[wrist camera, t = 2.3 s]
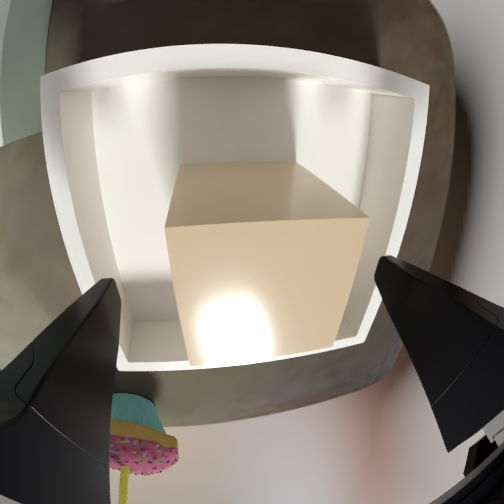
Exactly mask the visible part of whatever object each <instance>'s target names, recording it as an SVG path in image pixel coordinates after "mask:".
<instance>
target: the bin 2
mask: <svg viewBox="0 0 504 504" xmlns="http://www.w3.org/2000/svg"><path fill="white" fill-rule="evenodd" d="M40 99H41V119H42V132H43V141H44V150H45V157H46V164H47V170H48V176H49V181H50V187H51V192H52V196H53V201H54V205H55V210H56V214H57V218H58V222H59V225H60V229H61V233H62V236H63V240H64V243H65V246H66V250H67V253H68V256H69V259H70V262H71V265H72V268H73V271H74V273H75V276H76V279H77V282H78V284H79V287H80V290H81V292H82V295H83V294H84V293H85V292H86V291H87V290H89V289H90V288H91V287H92V286H93V285H94V284H96V283H97V282H98V281H99V280H100V279H102V278H113V279H114V280H115V282H116V285H117V288H118V291H119V294H120V297H121V304H122V305H121V319H120V336H119V349H118V357H117V364H116V367H117V368H118V370H119V371H169V370H189V369H204V368H216V367H226V366H236V365H244V364H253V363H260V362H267V361H274V360H280V359H287V358H292V357H298V356H304V355H309V354H314V353H319V352H324V351H329V350H333V349H338V348H342V347H347V346H351V345H355V344H359V343H363V342H364V341H365V339H366V336H367V334H368V332H369V330H370V327H371V325H372V323H373V320H374V318H375V315H376V313H377V310H378V308H379V305H380V303H381V300H382V297H381V295H380V293H379V290H378V288H377V286H376V283H375V281H374V273H375V270H376V267H377V264H378V260H379V258H380V257H381V256H386V255H391V256H394V257H396V258H397V255H398V252H399V249H400V245H401V242H402V239H403V235H404V232H405V228H406V224H407V221H408V217H409V213H410V209H411V205H412V201H413V197H414V192H415V188H416V183H417V178H418V173H419V168H420V162H421V157H422V151H423V144H424V137H425V130H426V121H427V112H428V101H429V85H427V84H424V83H422V82H419V81H417V80H414V79H412V78H409V77H406V76H404V75H401V74H398V73H395V72H392V71H389V70H386V69H383V68H380V67H376V66H373V65H370V64H366V63H362V62H359V61H355V60H351V59H347V58H342V57H338V56H333V55H328V54H323V53H318V52H312V51H306V50H299V49H292V48H284V47H275V46H264V45H248V44H194V45H178V46H167V47H158V48H150V49H143V50H137V51H131V52H125V53H120V54H115V55H110V56H106V57H101V58H97V59H93V60H89V61H85V62H82V63H78V64H75V65H72V66H68V67H65V68H62V69H59V70H56V71H53V72H50V73H48V74H45V75H42V76H40ZM220 162H297V163H298V164H300V165H301V166H303V167H304V168H305V169H307V170H308V171H310V172H311V173H312V174H314V175H315V176H317V177H318V178H319V179H321V180H322V181H323V182H325V183H326V184H327V185H329V186H330V187H331V188H333V189H334V190H335V191H337V192H338V193H339V194H341V195H342V196H343V197H344V198H346V199H347V200H348V201H350V202H351V203H352V204H353V205H355V206H356V207H357V208H358V209H360V210H361V211H362V212H363V213H365V214H366V215H367V216H368V217H369V218H370V219H369V223H368V228H367V232H366V236H365V240H364V245H363V249H362V253H361V256H360V260H359V264H358V268H357V271H356V275H355V279H354V282H353V285H352V289H351V292H350V296H349V299H348V302H347V305H346V308H345V312H344V315H343V318H342V321H341V324H340V327H339V330H338V332H337V335H336V338H335V341H334V344H333V347H328V348H323V349H318V350H313V351H308V352H302V353H297V354H291V355H285V356H278V357H272V358H265V359H258V360H250V361H241V362H232V363H223V364H212V365H199V366H190V363H189V359H188V355H187V351H186V346H185V342H184V337H183V333H182V328H181V323H180V318H179V313H178V308H177V303H176V298H175V292H174V287H173V281H172V275H171V269H170V263H169V256H168V250H167V243H166V235H165V223H166V219H167V214H168V210H169V206H170V202H171V198H172V194H173V190H174V186H175V182H176V178H177V175H178V171H179V167H180V165H185V164H200V163H220Z"/></svg>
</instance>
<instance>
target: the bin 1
mask: <svg viewBox="0 0 504 504" xmlns="http://www.w3.org/2000/svg"><path fill="white" fill-rule="evenodd" d="M52 2H53V0H0V147H1V146H4V145H6V144H9V143H11V142H14V141H16V140H19V139H22V138H24V137H27V136H30V135H33V134H36V133H39V132H42V119H41V99H40V76H42V75H45V61H46V46H47V36H48V27H49V20H50V14H51V8H52Z"/></svg>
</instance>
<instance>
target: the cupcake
mask: <svg viewBox="0 0 504 504" xmlns="http://www.w3.org/2000/svg"><path fill="white" fill-rule="evenodd" d="M178 458H179V457H178V443H177V439H176V438H175V437H173V436H170V435H167V434H166V433H165V431H164V429H163V427H162V424H161V422H160V419H159V417H158V413H157V410H156V407H155V405H154V404H153V403H152V402H151V401H149V400H148V399H146V398H144V397H141V396H138V395H134V394H129V393H115V394H113V398H112V409H111V423H110V444H109V468H112V469H117V470H120V471H121V474H120V486H119V504H127V494H128V476H129V474H131V473H135V475H137V474H141V475H144V474H147V475H150V474H153V473H159V472H162V470H165V469H166V468H169V467H170V466H172V465H173V464H174V463H175V462H177V461H178V460H177V459H178Z"/></svg>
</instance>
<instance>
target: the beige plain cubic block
mask: <svg viewBox="0 0 504 504" xmlns="http://www.w3.org/2000/svg"><path fill="white" fill-rule="evenodd" d="M369 219H370V218H369V217H368V216H367V215H366V214H365V213H363V212H362V211H361V210H360V209H358V208H357V207H356V206H355V205H353V204H352V203H351V202H350V201H348V200H347V199H346V198H344V197H343V196H342V195H341V194H339V193H338V192H337V191H335V190H334V189H333V188H331V187H330V186H329V185H327V184H326V183H325V182H323V181H322V180H321V179H319V178H318V177H317V176H315V175H314V174H312V173H311V172H310V171H308V170H307V169H305V168H304V167H303V166H301V165H300V164H298V163H297V162H220V163H200V164H185V165H180V167H179V171H178V175H177V178H176V182H175V186H174V190H173V194H172V198H171V202H170V206H169V210H168V214H167V219H166V223H165V235H166V243H167V250H168V256H169V263H170V269H171V275H172V281H173V287H174V292H175V298H176V303H177V308H178V313H179V318H180V323H181V328H182V333H183V337H184V342H185V346H186V351H187V355H188V359H189V363H190V366H199V365H212V364H223V363H232V362H241V361H250V360H258V359H265V358H272V357H278V356H285V355H291V354H297V353H302V352H308V351H313V350H318V349H323V348H328V347H333V344H334V341H335V338H336V335H337V332H338V330H339V327H340V324H341V321H342V318H343V315H344V312H345V308H346V305H347V302H348V299H349V296H350V292H351V289H352V285H353V282H354V279H355V275H356V271H357V268H358V264H359V260H360V256H361V253H362V249H363V245H364V240H365V236H366V232H367V228H368V223H369Z"/></svg>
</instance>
